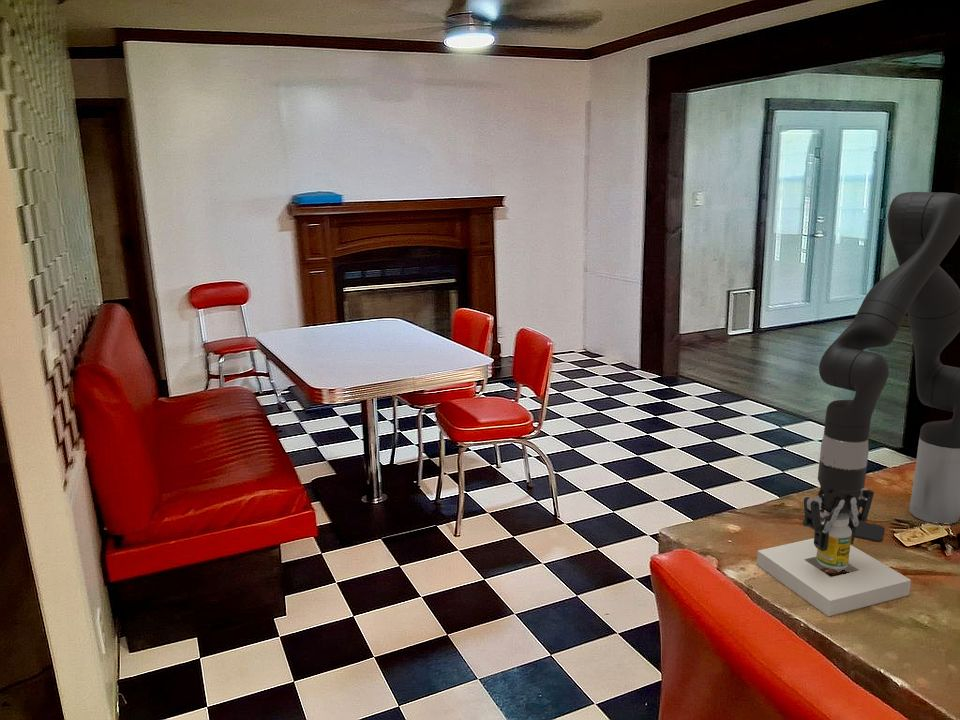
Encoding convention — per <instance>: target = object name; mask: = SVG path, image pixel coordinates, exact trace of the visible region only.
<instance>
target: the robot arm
mask: <svg viewBox="0 0 960 720" xmlns="http://www.w3.org/2000/svg"><path fill="white" fill-rule="evenodd" d="M887 214H888V215H887V227H888V233H889V238H890V241H891V245H892V248H893V250H894V254H895V257H896V260H897V264H898V267H897V268H895V269H894V270H892V271H891V272H889V273H888V274H887V275H886V276H885V275H884V276H883V278H881V279H880V280H879V281H877V283H876V284H875V285H874V286H872V287H871V289H870V290H868V292H867V294H866V295H865V297H864V298H863V300H862V302H861V304H860V306H859V308H858V311H857V312H856V315H855V316H854V318H853V320H852V322H851V323H850V324H849V325H848V326H847V327H846V329H844V331H843V332H842V333H841V334H840V335H838V337H837V338H836V339H835V340H834V341H833V342H832V343H831V344H830V345H829V347H828V348H827V349H826V350H825V351H824V353H823V355H822V356H821V359H820V362H819V367H818V372H819V376H820V379H821V381H822V382H823V383H824V384H826V385H829V386H830V387H835V388H840V389H844V390H848V391H852V392H855V394H854V395H855V396H854V397H853V399H837V400H833V401H831V402H829V403H828V405H827V406H826V411H825V418H824V419H825V420H824V429H823V437H822V439H821V442H820V444H821V445H820V454H819V463H818V472H817V481H818V483H819V487H820V489H819V491H818V493H817V495H816V496H814V497H812V498H811V497H809V496H805V497H804V498H803V509H804V518H805V524H806V526H805V527H807V526H808V527H807V528H810V529H811V530H813V531H814V537H813V538H814V545H815V547H816V548H818V549H819V550H821V551H826V550H827V544H828V535H829V533H828V530H829V528H830V526H831V523H832V522H835V520H836V518H837V516H838V515H839V514H841V513H845V514H847V515H848V516H849V524H848V526H849V527H850V528H851V531H852V536H851V544H850V545H852V546H853V545H854V541H855V539H856V538H855V532H856V527H857V526H858V524H859V522H866V521H867V519H868V516H869V513H870V508H871V506H872V502H873V498H874V495H875V491H873V490H871V489H869V488H866V486H865V484H866V474H867V467H868V458H869V437H870V429H871V419H872V416H873V413H874V410H875V408H876V405H877V403H878V399H880V398H879V397H880V395H881V393H882V392H883V390H884V387H885V385H886V384H887V381H888V378H889V374H890V370H889V365H888V362H887V360H886V359H885V357H884V356H883V355H881V354H880V353H876V352H872V351H871V352H870V351H867V350H866V349H871V348H880V347H881V348H882V347H883V348H884V347H887V346H889V345H890V344H891V343H892V342H893V341H894V340H895V338H896V336H897V334H898V332H899V330H900V328H901V325H902V324H903V321H904V319H906V316H907V318H908V324H909V328H910V333H911V339H912V344H913V345H912V346H913V350H914V352H913V353H914V361H915V362H914V363H915V365H914V366H915V383H916V387H915V388H916V394H917V397H918V400H919V402H921V404H922V405H924V406H928V407H931V408H934V409H937V410H938V409H939V410H942V411H947V412H952V413H953V415H952V418H951V419H947V420H937V421H936V420H933V421H929V422H926V423H925V422H924V424H923V425H921V427H920V429H919V430H920V432H919V437H918V438H919V439H918V445H917V452H916V453H917V454H916V459H915V460H916V461H915V467H914V475H913V483H912V490H911V496H910V504H909V510H908V511H909V513H910V514H911V515H912V516H914V517H915V518H916V519H919V520H921V521H923V522H927V523H930V522H937V523H949V524H948V525H953V524H952V523H955V524H957V523H959V521H960V518H959V517H960V367H957V366H952V365H951V366H950V365H946V364H943V363H942V362H941V358H940V356H941V355H940V354H942V351H943V350H945V348H946V347H947V346H948V345H949V344H951V342H952V341H953V340H954V339H955V338H956V336H957V335H958V334H959V333H960V288H959V286H958V285H957V283H956V282H955V281H954V279H953V278H952V277H951V276H950V275H949V274H948V273H947V272H946V270H944V269H943V268H942V267H941V266H940V265H941V263H942V262H943V260H944V259H945V258H946V256H947V254H948V253H949V252H950V250H951V249H952V248H953V246H954V245H955V243H956V242H957V240H958V239H959V236H960V194H958V193H953V192H942V191H941V192H940V191H939V192H933V191H932V192H931V191H927V192H925V191H910V192H909V191H908V192H907V191H906V192H901V193H900V194H898V195H896V196H895V197H894V198H893V199H892V201H891V202H890V205H889V209H888V213H887ZM860 510H861V512H860ZM825 512H829V513H830V515H827V514H826V513H825ZM823 518H824V519H825V522H824V524H821V523H822V520H823ZM958 520H959V521H958ZM956 522H957V523H956Z"/></svg>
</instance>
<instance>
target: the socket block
mask: <svg viewBox="0 0 960 720" xmlns="http://www.w3.org/2000/svg"><path fill="white" fill-rule="evenodd" d="M816 556H817V548H816V547H815V545H814V537H813V538H809V539H803V540H800V541H796V542H791V543H790V542H789V543H786V544H781V545H776V546H772V547H769V548H762V549H759V550H757V556H756V566H758V567H759V568H760V569H762V570H763V571H765V572H766V573H768V574H769V575H771V577H773V578H774V579H776V580H778V581H779V582H780V583H782V584H783V585H785V587H787V588H788V589H790V590H791V591H792V592H794V593H795V594H797V595H798V596H799V597H801V598H802V599H803V600H805V601H806V602H808V603H809V604H810V605H812V606H813V607H814V608H816V609H817V610H819V611H820V612H821V613H823V614H824V615H825V616H827V617H832V616H836V615H839V614H843V613H847V612H850V611H855V610H858V609H862V608H867V607H869V606H873V605H874V606H875V605H877V604H881V603H884V602H889V601H893V600H895V599H896V600H897V599H901V598H904V597H907V596H910V590H911V584H912V579H910V578H909V577H907V576H905V575H903V574H901V573H900V572H898V571H897V570H895V569H893V568H891V567H890V566H887V564H884V563H883V562H881V561H879V560H878V559H876V558H874V557H873V556H871V555H869V554H868V553H866V552H864V551H862V550H860V549H858V548H857V547H856V546H853V544H852V545H850V553H849V561H848V566H847V567H846V568H844V569H833V570H834V571H836V572H838V573H839V572H840V571H842V570H845V571H847V572H849V573H846V574H839V575H835V576H830V575H829V574H827V573H825V572H824V571H822V570H823V569H828V568H827V567H824V566H822V565H821V564H819V563H818V561H817V559H816Z"/></svg>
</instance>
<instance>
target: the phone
mask: <svg viewBox="0 0 960 720" xmlns="http://www.w3.org/2000/svg"><path fill="white" fill-rule="evenodd" d="M822 522H824V518H823V520H822ZM802 525H803V526H804V527H807V528H809V527H808V526H806V524H805V517H804V519H803V521H802ZM884 534H885V527H884V526H882V525H879V524H875V523H870V522H866V521H865V522H862V521H861V522H859V524H858V526H857V527H856V532H855V539H861V540H863V541H864V540H865V541H870V542H875V543H881V542H882V541H883V538H884Z"/></svg>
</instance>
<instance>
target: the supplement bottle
mask: <svg viewBox="0 0 960 720" xmlns="http://www.w3.org/2000/svg"><path fill="white" fill-rule="evenodd" d="M824 512H825V513H826V514H827V515H830V513H829V512H827V511H824ZM824 522H825V519H824ZM824 522H822V523H821V524H824ZM848 524H849V516H848V515H847V514H845V513H841V514H839V515H838V516H837V518H836V520H835V522H832V523H831V526H830V528H829V530H828V533H829V535H828V544H827V550H826V551H821V550H819V549H818V548H817V556H816V559H817V561H818V563H819V564H821V565H822V566H824V567H827V568H826V569H831V570H834V569H844V568H846V567H847V566H848V561H849V553H850V544H851V536H852V531H851V528H850V527H849V526H848Z"/></svg>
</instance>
